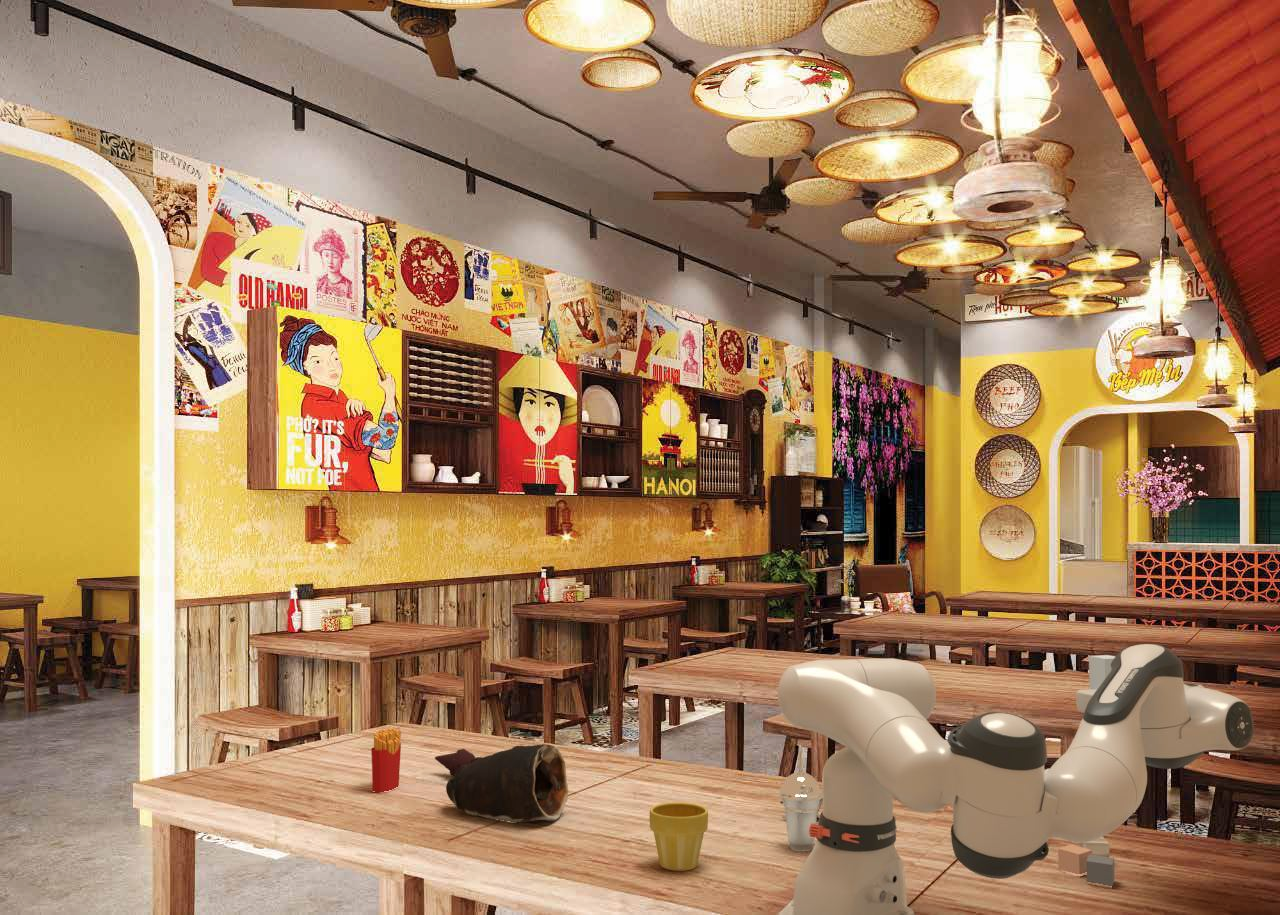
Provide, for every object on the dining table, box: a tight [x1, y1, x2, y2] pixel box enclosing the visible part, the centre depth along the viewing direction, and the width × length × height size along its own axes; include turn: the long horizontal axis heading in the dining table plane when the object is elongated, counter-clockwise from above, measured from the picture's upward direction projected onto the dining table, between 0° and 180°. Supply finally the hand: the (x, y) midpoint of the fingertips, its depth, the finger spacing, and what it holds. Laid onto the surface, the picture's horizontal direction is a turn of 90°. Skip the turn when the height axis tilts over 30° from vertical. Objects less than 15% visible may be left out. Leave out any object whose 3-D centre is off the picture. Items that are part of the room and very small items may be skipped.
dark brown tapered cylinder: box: [445, 743, 569, 823], centre depth 220 cm, size 15×15×25 cm
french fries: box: [370, 727, 402, 793], centre depth 240 cm, size 9×4×13 cm, turn 160°
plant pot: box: [649, 801, 709, 872], centre depth 189 cm, size 10×10×10 cm
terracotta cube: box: [1057, 843, 1092, 874], centre depth 186 cm, size 4×4×4 cm
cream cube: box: [1079, 836, 1110, 857], centre depth 192 cm, size 4×4×4 cm
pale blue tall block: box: [1088, 654, 1117, 689], centre depth 187 cm, size 4×4×16 cm
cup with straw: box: [777, 744, 823, 853], centre depth 199 cm, size 8×9×20 cm
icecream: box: [434, 748, 484, 778], centre depth 250 cm, size 7×7×15 cm
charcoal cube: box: [1086, 855, 1116, 887], centre depth 181 cm, size 4×4×4 cm
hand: (1103, 693), depth 188 cm, fingers closed on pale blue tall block, 4 cm apart
